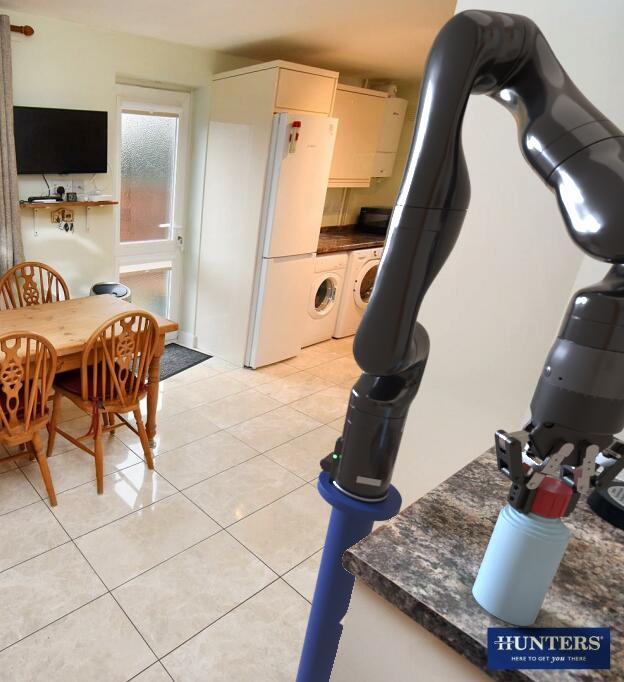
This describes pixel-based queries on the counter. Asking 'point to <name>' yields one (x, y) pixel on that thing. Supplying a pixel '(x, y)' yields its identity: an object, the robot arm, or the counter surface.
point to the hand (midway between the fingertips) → (537, 510)
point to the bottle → (520, 565)
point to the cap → (551, 498)
